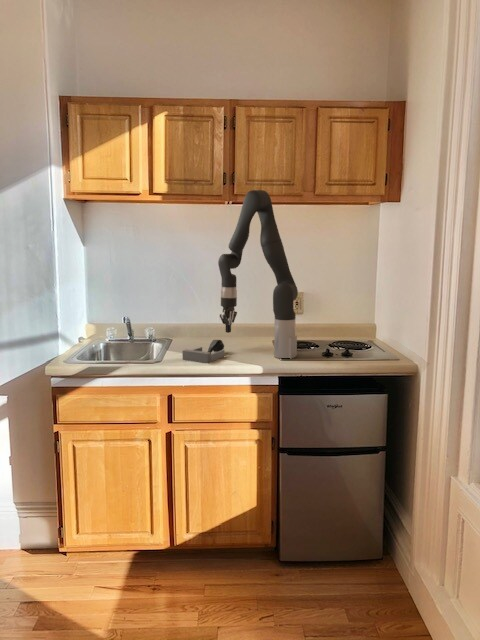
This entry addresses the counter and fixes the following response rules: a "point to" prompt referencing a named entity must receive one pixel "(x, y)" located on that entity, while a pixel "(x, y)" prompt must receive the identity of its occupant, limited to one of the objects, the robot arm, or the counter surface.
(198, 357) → the socket bay
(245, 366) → the counter surface
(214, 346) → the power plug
